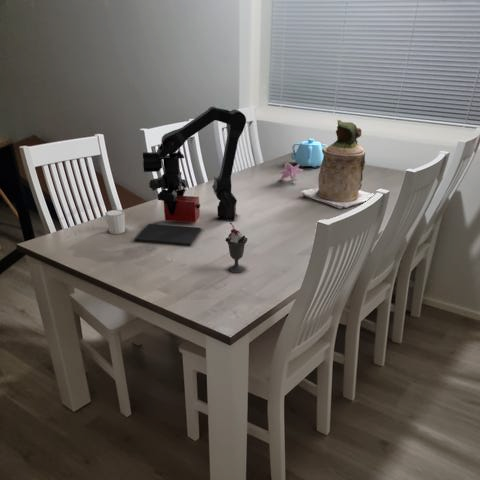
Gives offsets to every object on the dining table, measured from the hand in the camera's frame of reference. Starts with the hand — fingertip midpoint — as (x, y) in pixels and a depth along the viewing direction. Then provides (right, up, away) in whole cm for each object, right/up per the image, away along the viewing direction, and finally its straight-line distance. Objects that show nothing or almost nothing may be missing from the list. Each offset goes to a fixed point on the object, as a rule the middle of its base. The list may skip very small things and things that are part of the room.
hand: (174, 211), depth 183 cm
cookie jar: (+69, +13, +29) cm, 76 cm away
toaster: (+3, -3, +1) cm, 4 cm away
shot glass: (-20, -9, -7) cm, 23 cm away
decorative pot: (+63, +43, +76) cm, 107 cm away
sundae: (+24, -26, -33) cm, 48 cm away
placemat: (-1, -11, -10) cm, 15 cm away
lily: (+50, +25, +49) cm, 74 cm away
